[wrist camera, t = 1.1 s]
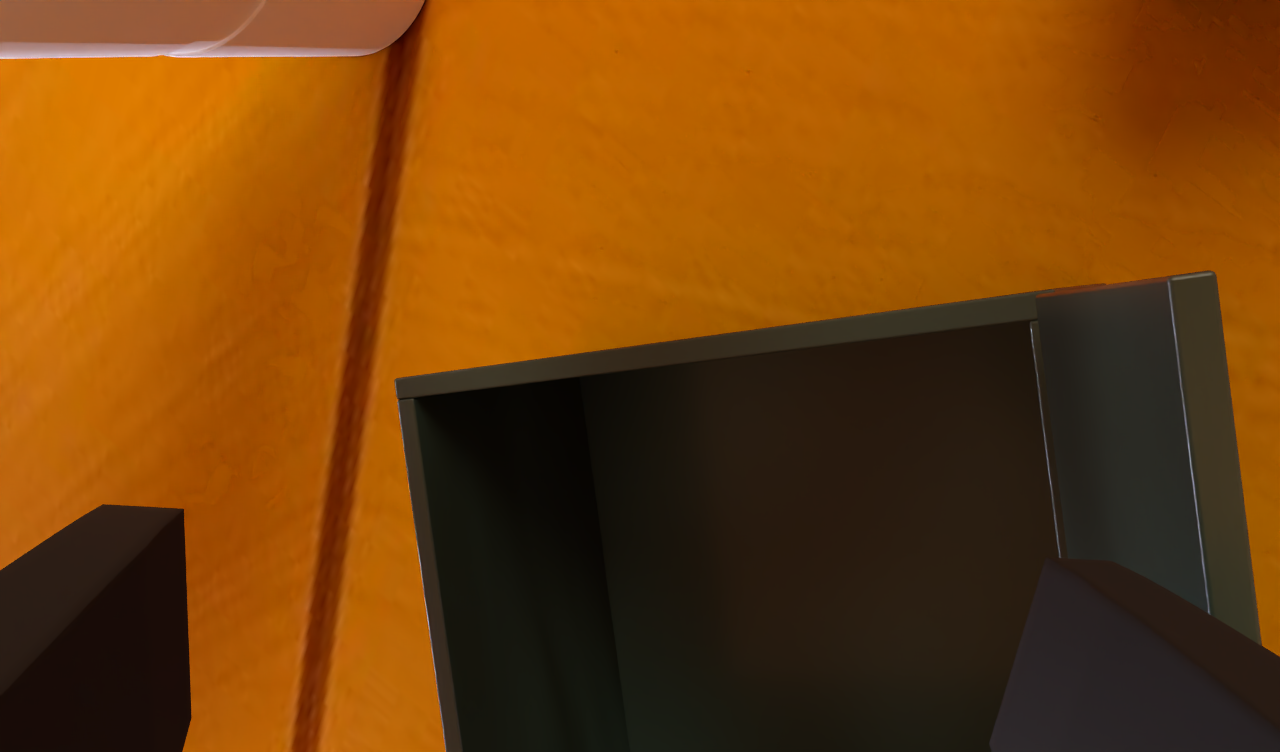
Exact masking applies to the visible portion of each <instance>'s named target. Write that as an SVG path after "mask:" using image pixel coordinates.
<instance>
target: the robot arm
mask: <svg viewBox="0 0 1280 752" xmlns="http://www.w3.org/2000/svg"><path fill="white" fill-rule="evenodd" d="M190 721H191V692H190V665H189V638H188V611H187V584H186V557H185V530H184V509H176V508H158V507H140V506H122V505H104V504H103V505H101V506H99V507H98V508H96V509H94V510H92V511H91V512H89V513H87V514H85V515H84V516H82V517H81V518H79V519H77V520H76V521H74V522H73V523H71V524H70V525H68V526H66V527H65V528H63V529H62V530H60V531H59V532H57V533H56V534H54V535H53V536H51V537H50V538H48V539H47V540H45V541H44V542H42V543H41V544H39V545H38V546H36V547H35V548H33V549H32V550H30V551H29V552H27V553H26V554H24V555H23V556H21V557H20V558H18V559H17V560H15V561H14V562H12V563H11V564H9V565H8V566H6V567H5V568H3V569H2V570H0V752H182V751H183V747H184V743H185V739H186V736H187V732H188V728H189V725H190ZM989 745H990V748H991V751H992V752H1280V657H1279V656H1277V655H1276V654H1274V653H1273V652H1271V651H1269V650H1268V649H1266V648H1264V647H1263V646H1261V645H1259V644H1258V643H1256V642H1255V641H1253V640H1251V639H1250V638H1248V637H1246V636H1245V635H1243V634H1241V633H1240V632H1238V631H1236V630H1235V629H1233V628H1232V627H1230V626H1228V625H1227V624H1225V623H1223V622H1222V621H1220V620H1218V619H1217V618H1215V617H1214V616H1212V615H1210V614H1208V613H1207V612H1205V611H1203V610H1202V609H1200V608H1198V607H1197V606H1195V605H1193V604H1192V603H1190V602H1188V601H1187V600H1185V599H1183V598H1181V597H1180V596H1178V595H1176V594H1174V593H1173V592H1171V591H1169V590H1168V589H1166V588H1164V587H1162V586H1160V585H1159V584H1157V583H1155V582H1153V581H1151V580H1149V579H1148V578H1146V577H1144V576H1142V575H1140V574H1138V573H1136V572H1134V571H1132V570H1130V569H1128V568H1126V567H1124V566H1121V565H1119V564H1117V563H1115V562H1113V561H1104V560H1086V559H1068V558H1051V557H1046V558H1045V561H1044V564H1043V568H1042V571H1041V574H1040V578H1039V581H1038V584H1037V587H1036V591H1035V594H1034V597H1033V601H1032V604H1031V607H1030V611H1029V614H1028V617H1027V620H1026V624H1025V627H1024V630H1023V634H1022V637H1021V640H1020V644H1019V647H1018V650H1017V653H1016V657H1015V660H1014V663H1013V667H1012V670H1011V673H1010V677H1009V680H1008V683H1007V686H1006V690H1005V693H1004V696H1003V700H1002V703H1001V706H1000V710H999V713H998V716H997V719H996V723H995V726H994V729H993V733H992V736H991V739H990V742H989Z"/></svg>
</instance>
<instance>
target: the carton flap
mask: <svg viewBox="0 0 1280 752" xmlns="http://www.w3.org/2000/svg"><path fill="white" fill-rule="evenodd" d="M1035 301H1036V309H1037V317H1038V324H1039V332H1040V340H1041V348H1042V356H1043V364H1044V372H1045V380H1046V388H1047V396H1048V404H1049V412H1050V419H1051V427H1052V435H1053V443H1054V451H1055V459H1056V467H1057V475H1058V483H1059V491H1060V499H1061V507H1062V514H1063V522H1064V530H1065V538H1066V546H1067V554H1068V559H1086V560H1104V561H1113V562H1115V563H1117V564H1119V565H1121V566H1124V567H1126V568H1128V569H1130V570H1132V571H1134V572H1136V573H1138V574H1140V575H1142V576H1144V577H1146V578H1148V579H1149V580H1151V581H1153V582H1155V583H1157V584H1159V585H1160V586H1162V587H1164V588H1166V589H1168V590H1169V591H1171V592H1173V593H1174V594H1176V595H1178V596H1180V597H1181V598H1183V599H1185V600H1187V601H1188V602H1190V603H1192V604H1193V605H1195V606H1197V607H1198V608H1200V609H1202V610H1203V611H1205V612H1207V613H1208V614H1210V615H1212V616H1214V617H1215V618H1217V619H1218V620H1220V621H1222V622H1223V623H1225V624H1227V625H1228V626H1230V627H1232V628H1233V629H1235V630H1236V631H1238V632H1240V633H1241V634H1243V635H1245V636H1246V637H1248V638H1250V639H1251V640H1253V641H1255V642H1256V643H1258V644H1259V645H1261V646H1262V644H1261V636H1260V628H1259V619H1258V611H1257V603H1256V595H1255V587H1254V579H1253V571H1252V562H1251V554H1250V546H1249V538H1248V530H1247V522H1246V514H1245V505H1244V497H1243V489H1242V481H1241V473H1240V465H1239V456H1238V448H1237V440H1236V432H1235V424H1234V416H1233V408H1232V399H1231V391H1230V383H1229V375H1228V367H1227V359H1226V350H1225V342H1224V334H1223V326H1222V318H1221V310H1220V302H1219V293H1218V285H1217V277H1216V274H1215V273H1214V272H1213V271H1203V272H1195V273H1188V274H1180V275H1173V276H1166V277H1159V278H1152V279H1144V280H1137V281H1130V282H1123V283H1116V284H1109V285H1102V286H1095V287H1088V288H1081V289H1073V290H1066V291H1059V292H1052V293H1045V294H1038V295H1037V296H1036V298H1035Z"/></svg>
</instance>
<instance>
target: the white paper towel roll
mask: <svg viewBox="0 0 1280 752" xmlns="http://www.w3.org/2000/svg"><path fill="white" fill-rule="evenodd" d="M424 1H425V0H0V59H12V58H82V57H148V56H158V55H165V56H172V57H302V56H363V55H368V54H372V53H375V52H377V51H380V50H382V49H384V48H385V47H387V46H389V45H390V44H392V43H393V42H394V41H396V40H397V39H398V38H399V37H400V36H401V35H402V34H403V33H404V32H405V31H406V30H407V29H408V28H409V27H410V25H411V24H412V22H413V21H414V20H415V18H416V17H417V15H418V13H419V11H420V10H421V8H422V6H423V4H424Z"/></svg>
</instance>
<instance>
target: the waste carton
mask: <svg viewBox="0 0 1280 752" xmlns="http://www.w3.org/2000/svg"><path fill="white" fill-rule="evenodd" d="M1102 285H1106V284H1104V283H1103V284H1094V285H1085V286H1075V287H1066V288H1057V289H1049V290H1041V291H1034V292H1027V293H1019V294H1012V295H1005V296H997V297H990V298H983V299H975V300H968V301H960V302H953V303H946V304H938V305H931V306H924V307H916V308H909V309H902V310H894V311H887V312H880V313H872V314H865V315H858V316H850V317H843V318H836V319H828V320H821V321H814V322H806V323H799V324H792V325H784V326H777V327H770V328H762V329H755V330H748V331H740V332H733V333H726V334H718V335H711V336H704V337H696V338H689V339H681V340H674V341H667V342H659V343H652V344H645V345H637V346H630V347H623V348H615V349H608V350H601V351H593V352H586V353H579V354H571V355H564V356H557V357H549V358H542V359H535V360H527V361H520V362H513V363H505V364H498V365H491V366H483V367H476V368H469V369H461V370H454V371H447V372H439V373H432V374H425V375H417V376H410V377H402V378H396V379H395V381H394V382H395V389H396V396H397V399H400V400H398V402H397V403H398V410H399V417H400V425H401V432H402V439H403V446H404V453H405V461H406V468H407V475H408V482H409V489H410V497H411V504H412V511H413V518H414V525H415V533H416V540H417V547H418V554H419V561H420V569H421V576H422V583H423V590H424V597H425V605H426V612H427V619H428V626H429V633H430V640H431V648H432V655H433V662H434V669H435V676H436V684H437V691H438V698H439V705H440V712H441V720H442V727H443V734H444V741H445V748H446V752H992V751H991V748H990V745H989V742H990V739H991V736H992V733H993V729H994V726H995V723H996V719H997V716H998V713H999V710H1000V706H1001V703H1002V700H1003V696H1004V693H1005V690H1006V686H1007V683H1008V680H1009V677H1010V673H1011V670H1012V667H1013V663H1014V660H1015V657H1016V653H1017V650H1018V647H1019V644H1020V640H1021V637H1022V634H1023V630H1024V627H1025V624H1026V620H1027V617H1028V614H1029V611H1030V607H1031V604H1032V601H1033V597H1034V594H1035V591H1036V587H1037V584H1038V581H1039V578H1040V574H1041V571H1042V568H1043V564H1044V561H1045V558H1046V557H1051V558H1068V554H1067V546H1066V538H1065V530H1064V522H1063V514H1062V507H1061V499H1060V491H1059V483H1058V475H1057V467H1056V459H1055V451H1054V443H1053V435H1052V427H1051V419H1050V412H1049V404H1048V396H1047V388H1046V380H1045V372H1044V364H1043V356H1042V348H1041V340H1040V332H1039V324H1038V317H1037V309H1036V301H1035V298H1036V296H1037V295H1038V294H1045V293H1052V292H1059V291H1066V290H1073V289H1081V288H1088V287H1095V286H1102Z"/></svg>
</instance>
